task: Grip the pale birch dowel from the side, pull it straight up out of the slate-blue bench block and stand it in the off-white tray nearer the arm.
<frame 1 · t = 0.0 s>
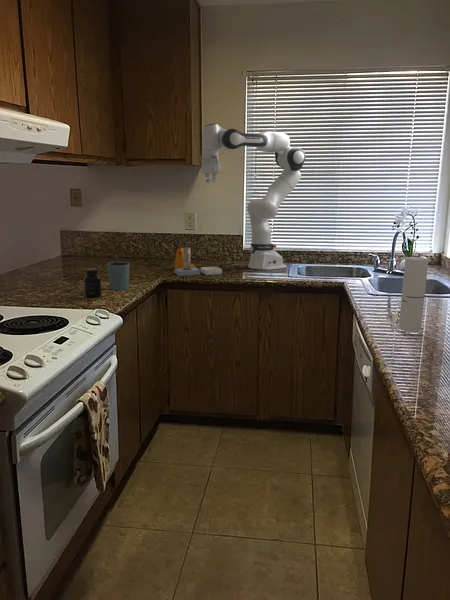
hand: (210, 182, 266), 48 cm above the worktop, tool pointing down, fingers open, 8 cm apart
tray: (211, 273, 269), on the worktop
bench block: (187, 273, 266), on the worktop
supplement bottle: (93, 296, 214), on the worktop
dowel: (187, 261, 265), in the bench block
blue cup: (119, 289, 229), on the worktop
bracket: (185, 269, 281), on the worktop
cylindrical container: (409, 331, 168), on the worktop
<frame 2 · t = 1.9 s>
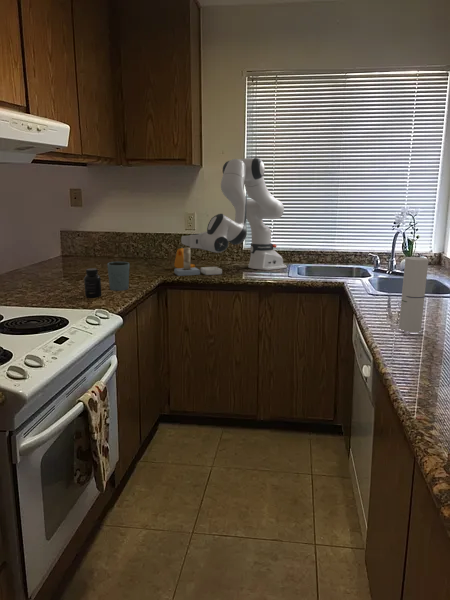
hand: (195, 238, 251), 21 cm above the worktop, tool horizontal, fingers open, 8 cm apart
nothing on the worktop moved.
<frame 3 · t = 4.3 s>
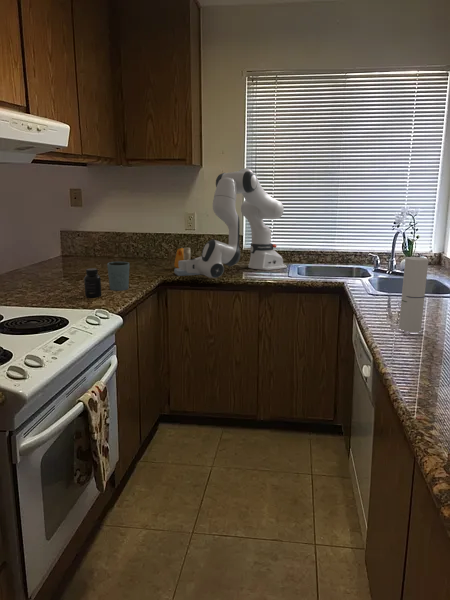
hand: (192, 261, 259), 8 cm above the worktop, tool horizontal, fingers open, 8 cm apart
nothing on the worktop moved.
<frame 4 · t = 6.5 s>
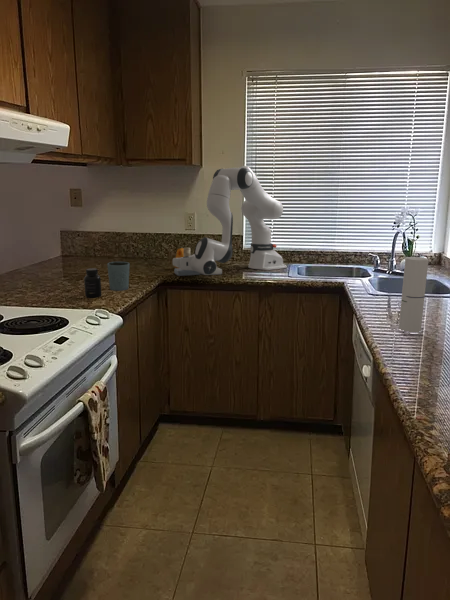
hand: (186, 258, 265), 8 cm above the worktop, tool horizontal, fingers closed on dowel, 4 cm apart
dowel: (187, 261, 265), in the bench block, touching gripper
everything else where it was.
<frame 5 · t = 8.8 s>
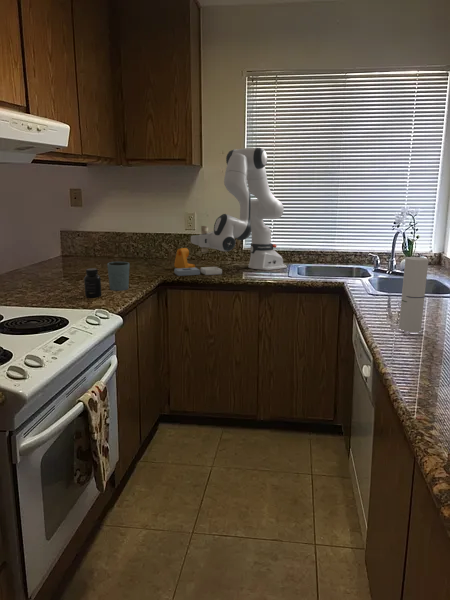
hand: (204, 237, 265), 20 cm above the worktop, tool horizontal, fingers closed on dowel, 4 cm apart
dowel: (204, 239, 264), point 18 cm above the worktop, touching gripper
everything else where it was.
when the fingers open (10 cm above the worktop, at t = 11.3 s): dowel drops 1 cm, resting on tray.
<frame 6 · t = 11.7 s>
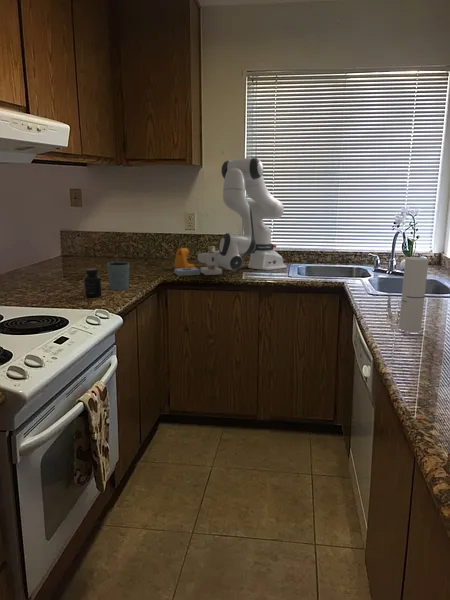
hand: (210, 254, 267), 10 cm above the worktop, tool horizontal, fingers open, 8 cm apart
dowel: (211, 259, 267), in the tray, point 8 cm above the worktop
everything else where it was.
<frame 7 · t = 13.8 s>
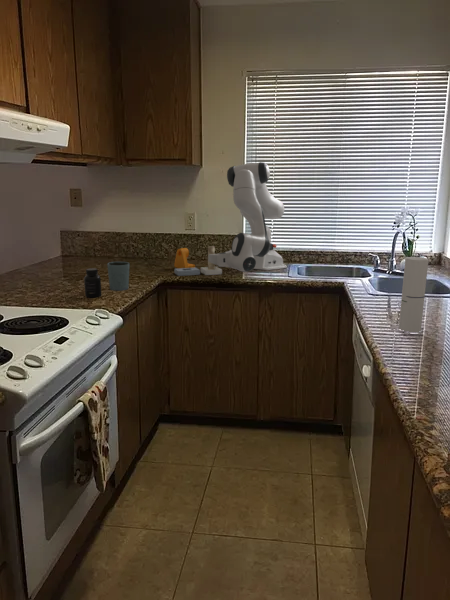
hand: (221, 255, 256), 12 cm above the worktop, tool horizontal, fingers open, 8 cm apart
nothing on the worktop moved.
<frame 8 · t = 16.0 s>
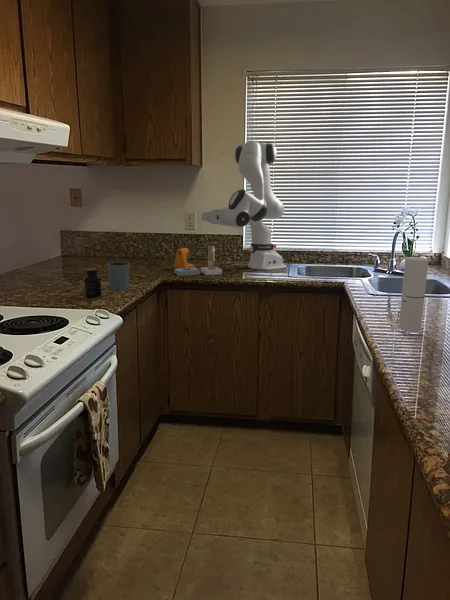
hand: (214, 214, 253), 32 cm above the worktop, tool horizontal, fingers open, 8 cm apart
nothing on the worktop moved.
at the end: dowel inside the target area on the tray (0.0 cm from its centre), point 7.6 cm above the tray's base; dowel tilted 0°; the gripper is holding nothing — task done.
